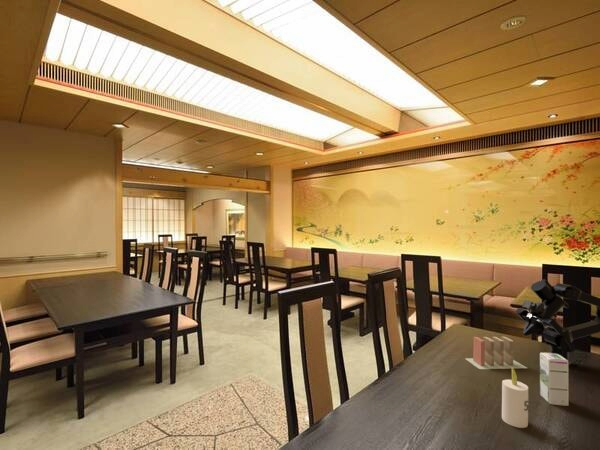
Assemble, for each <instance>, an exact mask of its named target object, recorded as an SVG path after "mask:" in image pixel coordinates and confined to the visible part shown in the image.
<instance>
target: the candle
mask: <svg viewBox="0 0 600 450" xmlns="http://www.w3.org/2000/svg"><path fill="white" fill-rule="evenodd" d="M529 402H530V401H529V386H528V385H527V384H525V383H523V382H521V381H520V380H519V381H518V377H517V373H516V371H515V369H513V368H512V369H511V379H503V380H502V381H501V419H502V421H503V422H505V423H506V424H508V425H509V426H512V427H515V428H519V429H525V428H528V425H529Z"/></svg>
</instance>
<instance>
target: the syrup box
mask: <svg viewBox="0 0 600 450" xmlns="http://www.w3.org/2000/svg"><path fill="white" fill-rule="evenodd" d="M568 361H569V359H568V360H566V359H565V358H563V357H562V356H560V355H559V354H555V353H551V352H539V395H540V396H541V397H542V398H543V400H545V402H546V403H548V404H550V405H556V406H565V407H566V406H567V407H569V366H568Z"/></svg>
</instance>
